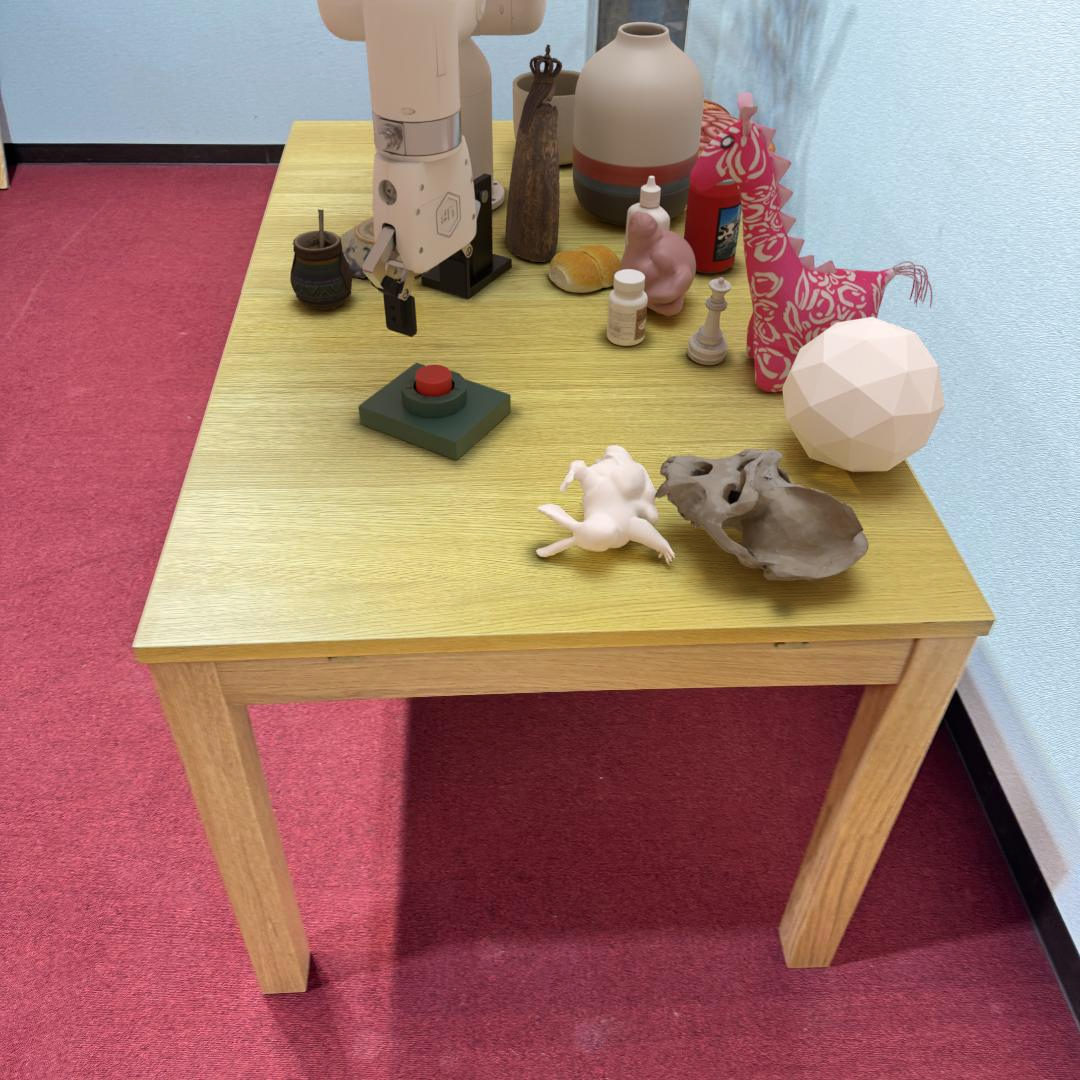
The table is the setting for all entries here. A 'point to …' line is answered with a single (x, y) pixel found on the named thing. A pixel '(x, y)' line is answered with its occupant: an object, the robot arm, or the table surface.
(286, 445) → the table surface
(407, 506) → the table surface
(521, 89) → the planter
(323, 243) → the mate gourd
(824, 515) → the skull
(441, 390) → the button
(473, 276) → the lever bracket
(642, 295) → the pill bottle
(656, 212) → the eye dropper bottle
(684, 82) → the vase
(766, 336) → the toy
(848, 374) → the geometric shape
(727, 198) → the beverage can
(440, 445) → the block
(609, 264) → the bread roll
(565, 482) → the rabbit figurine
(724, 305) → the chess piece
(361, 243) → the decorative bowl
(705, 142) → the anatomical model
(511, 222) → the statue
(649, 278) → the figurine
